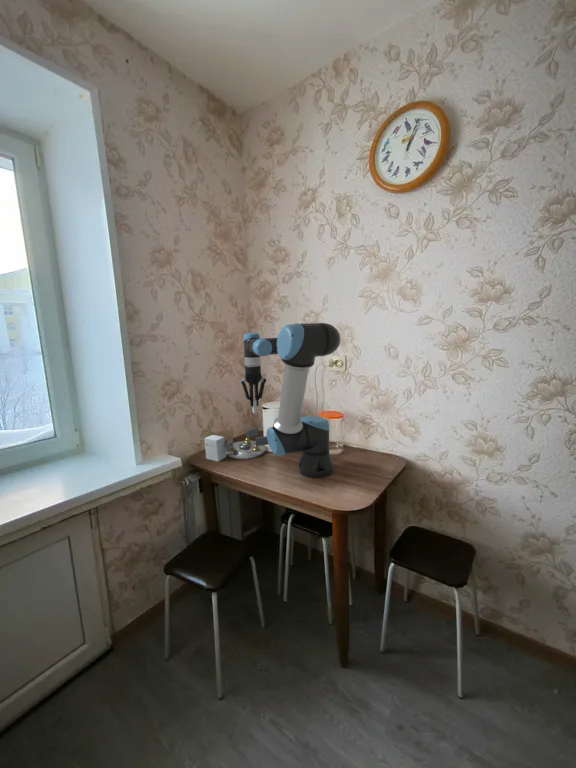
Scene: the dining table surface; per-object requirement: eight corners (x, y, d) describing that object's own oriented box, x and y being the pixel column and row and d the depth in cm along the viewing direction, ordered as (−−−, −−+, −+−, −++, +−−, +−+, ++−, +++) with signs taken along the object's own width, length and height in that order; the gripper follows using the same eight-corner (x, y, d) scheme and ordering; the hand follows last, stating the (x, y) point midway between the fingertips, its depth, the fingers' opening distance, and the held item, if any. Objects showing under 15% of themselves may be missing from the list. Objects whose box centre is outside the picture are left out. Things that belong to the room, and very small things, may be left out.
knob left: (228, 448, 165) (228, 437, 164) (236, 448, 165) (235, 437, 164) (224, 456, 155) (223, 444, 154) (231, 456, 155) (231, 444, 154)
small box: (226, 457, 159) (224, 436, 157) (218, 462, 155) (216, 440, 153) (214, 454, 164) (212, 434, 162) (205, 458, 159) (204, 437, 157)
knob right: (248, 443, 170) (247, 432, 169) (242, 442, 172) (242, 431, 171) (259, 438, 179) (259, 427, 177) (254, 437, 180) (253, 426, 179)
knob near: (253, 451, 160) (252, 439, 159) (252, 448, 164) (251, 437, 163) (273, 449, 162) (272, 437, 161) (271, 446, 166) (271, 435, 165)
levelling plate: (273, 448, 169) (272, 440, 169) (248, 462, 153) (247, 454, 152) (243, 441, 180) (242, 435, 179) (216, 454, 164) (216, 447, 163)
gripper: (263, 363, 165) (264, 409, 170) (237, 365, 161) (240, 412, 166) (268, 365, 159) (269, 412, 164) (241, 367, 154) (243, 416, 159)
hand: (254, 412), depth 165 cm, fingers closed
